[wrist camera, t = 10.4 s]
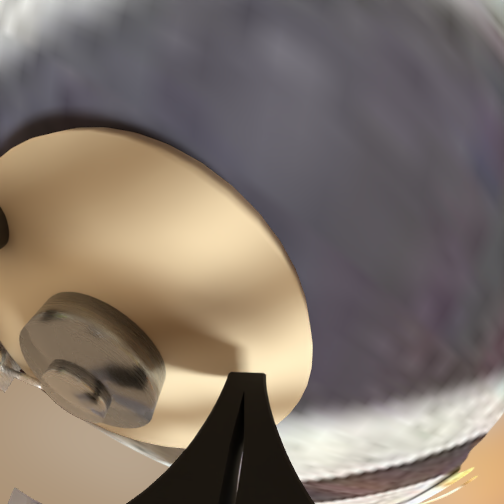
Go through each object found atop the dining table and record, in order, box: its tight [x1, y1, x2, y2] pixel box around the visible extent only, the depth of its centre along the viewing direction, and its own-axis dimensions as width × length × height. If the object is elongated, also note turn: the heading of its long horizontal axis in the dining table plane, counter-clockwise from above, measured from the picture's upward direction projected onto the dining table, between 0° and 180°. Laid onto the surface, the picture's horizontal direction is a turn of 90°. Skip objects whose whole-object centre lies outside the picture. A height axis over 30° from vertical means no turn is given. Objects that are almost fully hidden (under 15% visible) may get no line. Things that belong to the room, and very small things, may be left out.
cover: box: [19, 292, 166, 428], centre depth 11 cm, size 7×7×3 cm
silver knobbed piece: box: [0, 341, 44, 392], centre depth 14 cm, size 3×7×6 cm, turn 91°
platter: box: [0, 127, 313, 448], centre depth 11 cm, size 20×20×6 cm
